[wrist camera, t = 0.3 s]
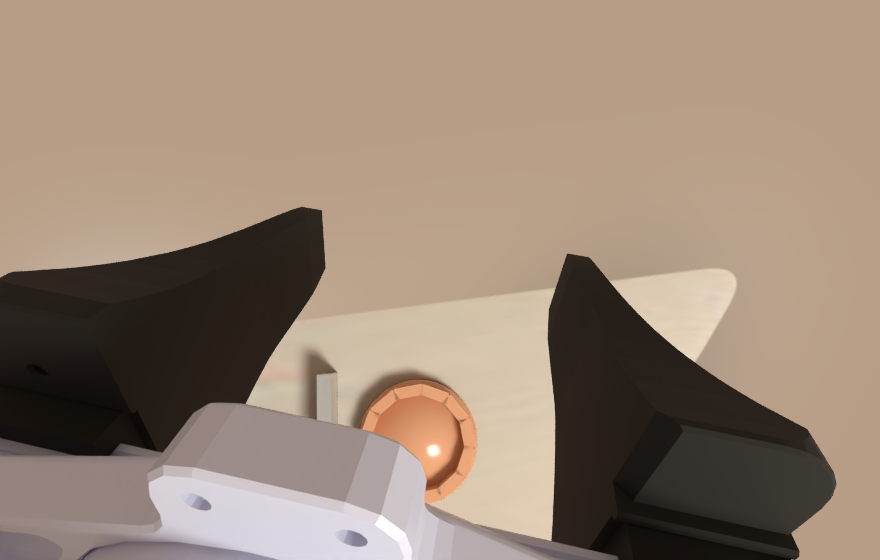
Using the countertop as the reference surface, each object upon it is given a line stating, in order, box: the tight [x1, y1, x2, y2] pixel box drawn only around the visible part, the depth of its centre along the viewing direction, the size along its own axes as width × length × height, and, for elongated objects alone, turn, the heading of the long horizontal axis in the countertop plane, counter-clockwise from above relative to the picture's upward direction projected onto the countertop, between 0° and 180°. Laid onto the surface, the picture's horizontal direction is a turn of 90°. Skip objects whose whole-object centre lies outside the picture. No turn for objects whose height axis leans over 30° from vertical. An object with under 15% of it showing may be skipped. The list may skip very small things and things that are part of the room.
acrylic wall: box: [317, 372, 338, 424], centre depth 39 cm, size 13×1×3 cm, turn 3°
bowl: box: [360, 380, 477, 504], centre depth 40 cm, size 11×11×2 cm
